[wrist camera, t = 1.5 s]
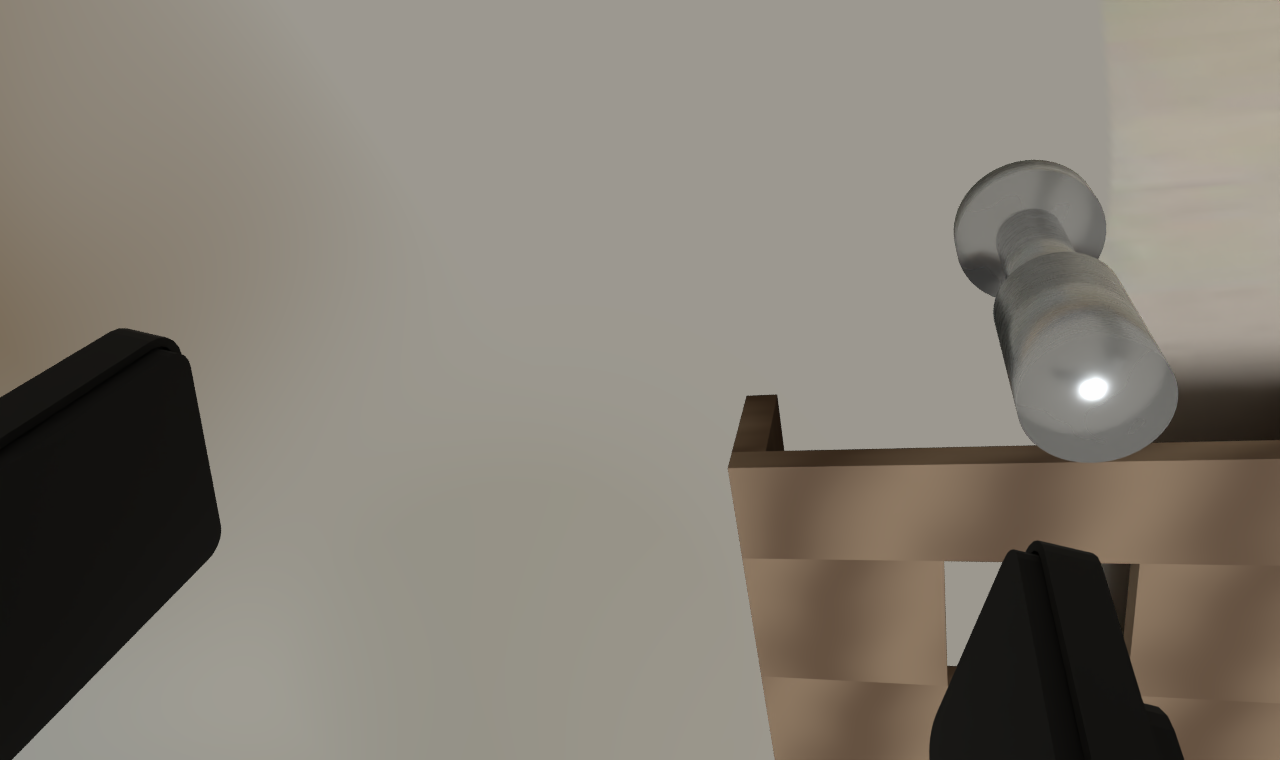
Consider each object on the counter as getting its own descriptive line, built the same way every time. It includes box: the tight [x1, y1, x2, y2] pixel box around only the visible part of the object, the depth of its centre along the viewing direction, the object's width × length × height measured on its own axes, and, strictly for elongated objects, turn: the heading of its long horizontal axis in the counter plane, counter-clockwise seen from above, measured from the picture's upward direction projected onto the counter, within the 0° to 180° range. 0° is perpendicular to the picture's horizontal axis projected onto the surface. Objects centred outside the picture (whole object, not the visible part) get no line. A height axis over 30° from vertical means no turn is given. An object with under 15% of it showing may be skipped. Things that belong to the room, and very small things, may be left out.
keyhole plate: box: [728, 395, 1280, 760], centre depth 35 cm, size 20×22×5 cm
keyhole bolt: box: [954, 160, 1178, 463], centre depth 24 cm, size 4×4×12 cm
